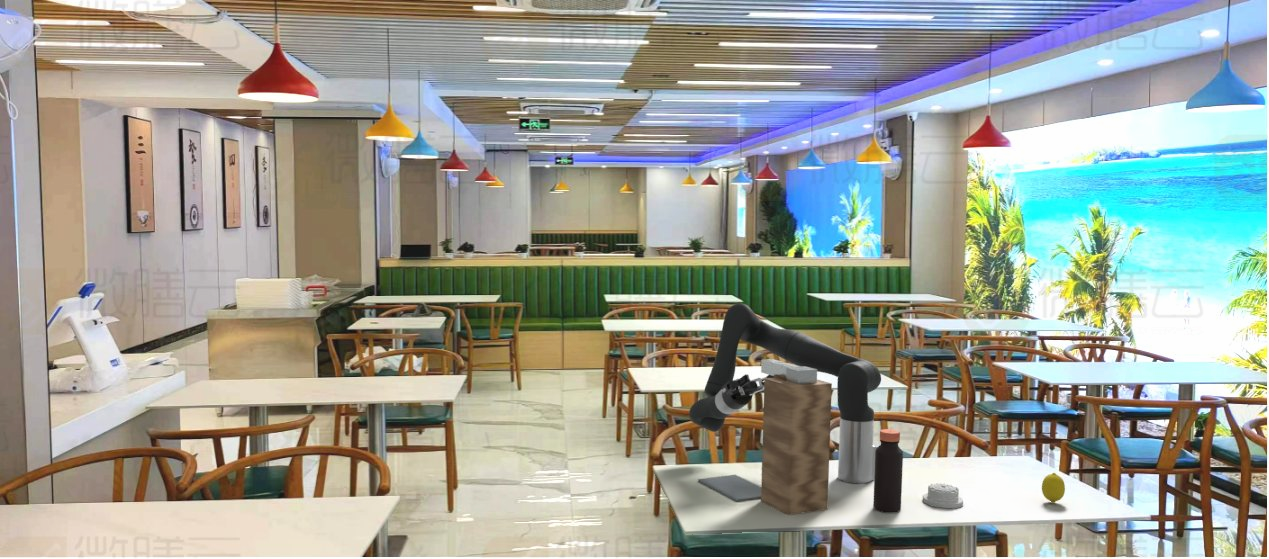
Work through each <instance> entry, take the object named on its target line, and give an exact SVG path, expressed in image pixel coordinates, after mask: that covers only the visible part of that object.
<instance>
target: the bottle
mask: <svg viewBox="0 0 1269 559" xmlns="http://www.w3.org/2000/svg"><path fill="white" fill-rule="evenodd" d="M900 439H901V431H899V430H896V429H890V428H885V429H884V428H883V429H880V430H879V442H880V445H878V447H877V448H876V451H875V475H874V480H873V481H874V483H873V501H872V502H873V504H872V505H873V506H872V507H873V509H874V510H875V511H878V512H880V513H886V514H887V513H889V514H894V513H898V512H900V511H901V510H902V492H903V490H902V488H903V486H902V485H903V464H904V463H903V462H904V451H903V450H902V448H901V447H900V446H899V443H900Z"/></svg>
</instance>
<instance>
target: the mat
mask: <svg viewBox="0 0 1269 559" xmlns="http://www.w3.org/2000/svg"><path fill="white" fill-rule="evenodd" d="M697 481H698V482H699V483H701V484H703V485H704V486H706V487H708V488H710V489H712V490H713V491H716V492H717V491H718V493H719V492H720V494H721V493H722V495H723V496H725V497H727V498H729V499H731V500H733V501H735V502H736V503H737V502H738V503H740V502H745V501H746V500H747V501H752V500H753V499H754V500H760V499H759V498H761V486H760V485H757V483H754V482H751V481H749V480H748V479H745V478H743V477H741V476H739V475H737V474H729V475H721V476H713V477H706V478H705V477H704V478H698V479H697Z"/></svg>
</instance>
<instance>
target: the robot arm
mask: <svg viewBox="0 0 1269 559" xmlns="http://www.w3.org/2000/svg"><path fill="white" fill-rule="evenodd" d="M721 329H722V330H721V334H720V338H719V343H718V348H717V352H716V355H715V359H714V362H713V365H712V368H711V371H710V374H709V375H708V379H707V381H706V384H705V386H704V387H705V388H704V394H705V395H706V396H707V397H704V398H701V399H698V400H697V401H695V402H694V403H693V404H692V405H691V407H690V408H689V411H688V418H689V420H690V421H691V422H692V423H693V424H695V425H697V426H699V427H700V428H701V427H702V428H703V429H705V430H707V431H710V432H712V433H715V432H719V431H720V430H721V429H722V427H723V426H724V425H725V421H726V418H728V417H729V416H731V415H732V414H733V413H736V412H738V411H739V410H741V409H743V407H746V405H748V404H749V403H750V402H751V401H752V399H753V396H754V395H756V393H759V392H761V393H762V394H764V378H774V376H772V375H768V374H767V376H765V377H762V378H761V377H758V378H754V379H750V376H749V374H744V375H743V376H741V377H740V378H736V379H734V378H735V373H736V366H737V353H738V346H739V344H740V341H743V342H746V343H748V344H751V345H754V346H757V347H760V348H763V349H765V350H766V351H769V352H771V353H772V354H774V355H776V356H777V357H779V358H781V359H784V360H785V361H786V362H789V363H790V364H793V365H797V366H801V367H803V366H806V367H810V368H814V369H817V373H819V372H820V373H824V374H828V375H831V376H835V377H836V378H837V382H836V383H837V384H836V385H837V407H838V410H839V438H838V439H839V442H838V443H839V444H838V465H837V466H838V467H837V469H838V471H837V478H838V479H839V480H840V481H843V482H846V483H853V484H865V483H866V484H867V483H870V482H872V481H874V475H875V451H876V446H875V445H874V427H875V426H874V425H875V424H874V422H875V421H874V420H875V417H874V416H875V411H874V409H873V408H872V407H870V406H869V398H868V397H869V396H868V394H869V393H871V392H873V391H875V390H876V389H877V388H878V387H880V385H881V383H882V375H881V372H880V370H879V368H878V367H877V366H876V365H875V364H874V363H873V362H871V361H869V360H866V359H863V358H860V357H856V356H855V355H850V354H848V353H844V352H842V351H840V350H837V349H835V348H834V347H832V346H829V345H828V344H826V343H824V342H822V341H819V340H817V339H815V338H813V337H811V336H809V335H806V334H805V333H803V332H799V331H797V330H794V329H787V328H786V329H785V328H778V327H774V326H772V325H771V324H769V323H767V322H766V321H764V320H762V319H761V318H760V317H759V316H757V314H755V312H754V311H753V310H752V309H751V307H750V306H749V305H747V304H746V303H741V302H740V303H734V304H733V305H732V306H730V307H729V308H728V309H727V311H726V313H725V315H724V319H723V323H722V328H721Z"/></svg>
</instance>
